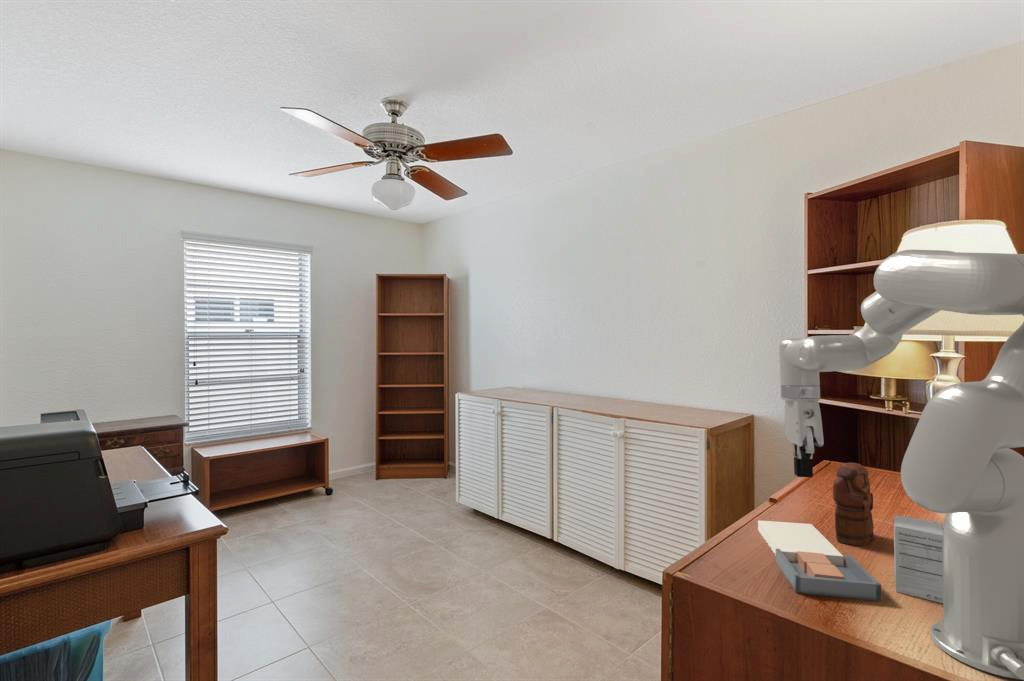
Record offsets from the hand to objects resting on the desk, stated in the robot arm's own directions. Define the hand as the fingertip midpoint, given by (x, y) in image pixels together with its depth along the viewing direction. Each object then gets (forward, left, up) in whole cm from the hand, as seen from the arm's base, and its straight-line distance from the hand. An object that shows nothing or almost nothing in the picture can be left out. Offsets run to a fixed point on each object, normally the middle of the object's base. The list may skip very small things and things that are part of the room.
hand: (803, 476), depth 107 cm
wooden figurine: (+12, -15, -18) cm, 26 cm away
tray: (-12, 0, -17) cm, 21 cm away
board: (+4, 0, -17) cm, 18 cm away
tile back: (-8, +1, -17) cm, 19 cm away
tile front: (-13, +1, -17) cm, 21 cm away
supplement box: (-12, -16, -18) cm, 27 cm away
